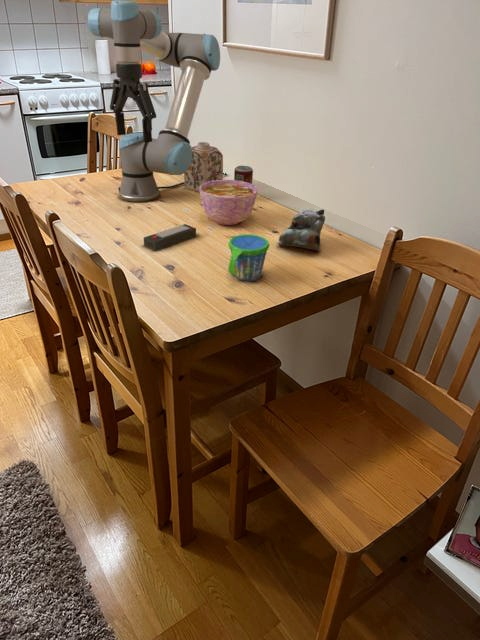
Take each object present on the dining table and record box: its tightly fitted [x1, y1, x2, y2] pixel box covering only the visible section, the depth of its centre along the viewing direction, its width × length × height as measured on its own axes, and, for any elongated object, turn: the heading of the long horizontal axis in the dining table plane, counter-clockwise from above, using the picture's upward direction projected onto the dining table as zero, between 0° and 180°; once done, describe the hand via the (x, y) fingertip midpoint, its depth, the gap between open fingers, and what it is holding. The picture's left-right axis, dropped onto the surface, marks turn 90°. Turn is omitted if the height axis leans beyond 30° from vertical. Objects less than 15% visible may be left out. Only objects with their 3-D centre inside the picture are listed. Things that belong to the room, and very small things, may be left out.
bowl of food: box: [199, 179, 259, 226], centre depth 167 cm, size 20×20×12 cm
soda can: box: [233, 165, 254, 184], centre depth 188 cm, size 7×7×12 cm
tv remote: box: [143, 223, 197, 252], centre depth 152 cm, size 17×5×3 cm, turn 138°
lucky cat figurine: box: [275, 208, 326, 252], centre depth 150 cm, size 15×12×14 cm
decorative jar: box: [183, 141, 224, 193], centre depth 196 cm, size 12×12×18 cm
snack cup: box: [227, 234, 270, 282], centre depth 131 cm, size 16×10×10 cm
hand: (134, 138), depth 154 cm, fingers open, 13 cm apart
